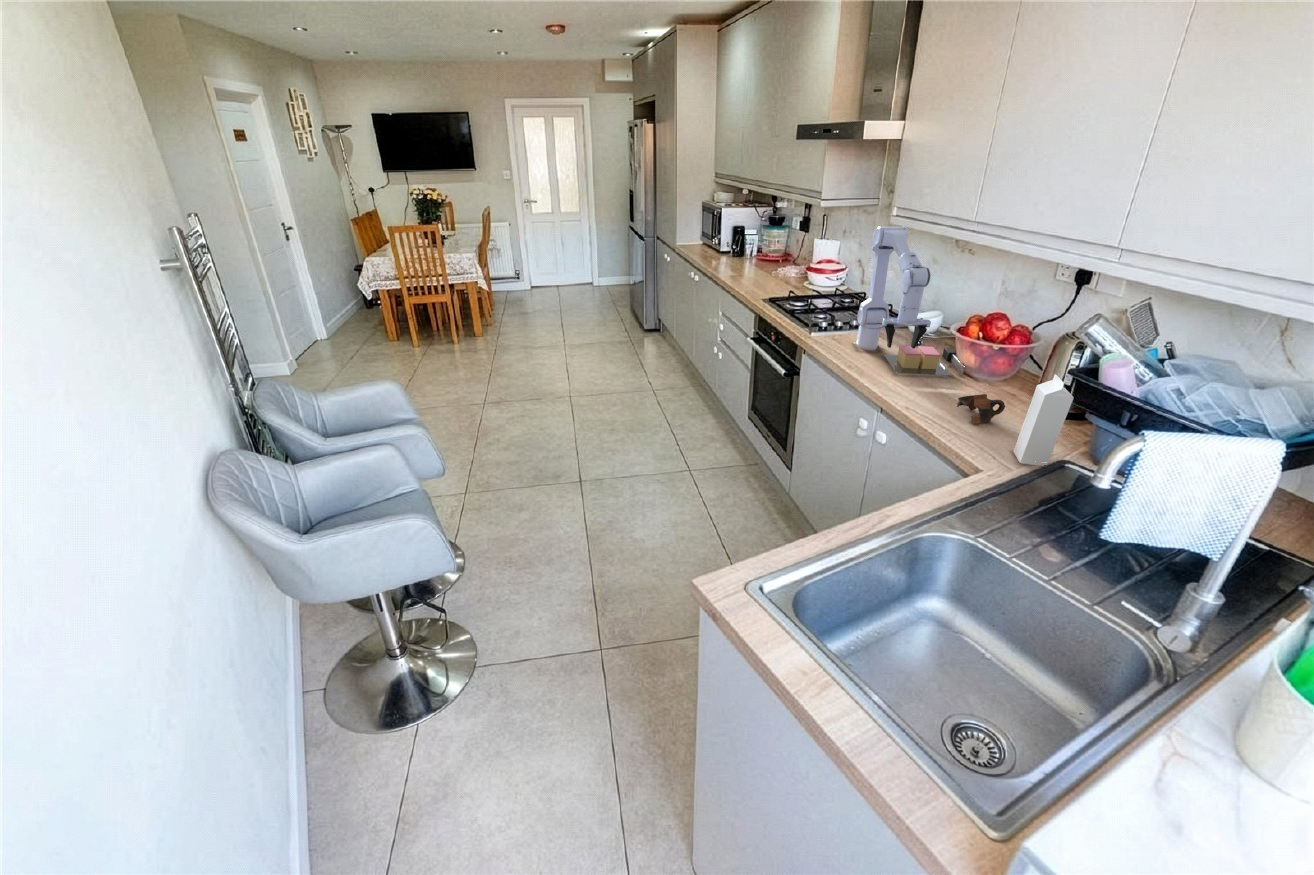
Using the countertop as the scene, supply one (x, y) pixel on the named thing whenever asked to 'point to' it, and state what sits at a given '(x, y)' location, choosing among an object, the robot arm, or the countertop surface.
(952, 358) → the knife
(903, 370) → the board
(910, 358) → the cake half
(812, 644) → the countertop surface
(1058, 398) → the milk
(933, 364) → the cake slice
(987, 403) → the pottery mug
